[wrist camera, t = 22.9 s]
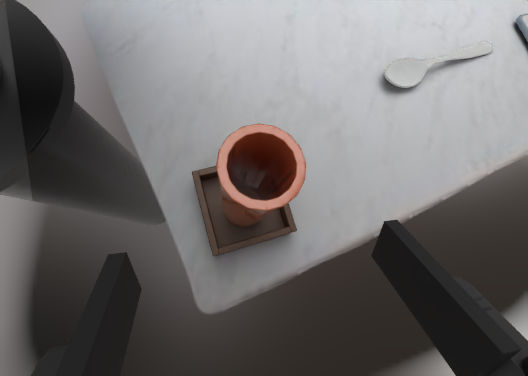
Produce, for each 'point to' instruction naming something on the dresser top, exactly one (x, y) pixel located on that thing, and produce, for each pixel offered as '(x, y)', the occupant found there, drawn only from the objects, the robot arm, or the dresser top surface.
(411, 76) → the spoon
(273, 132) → the orange hollow tube
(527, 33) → the smartphone
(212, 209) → the tray
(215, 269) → the dresser top surface
